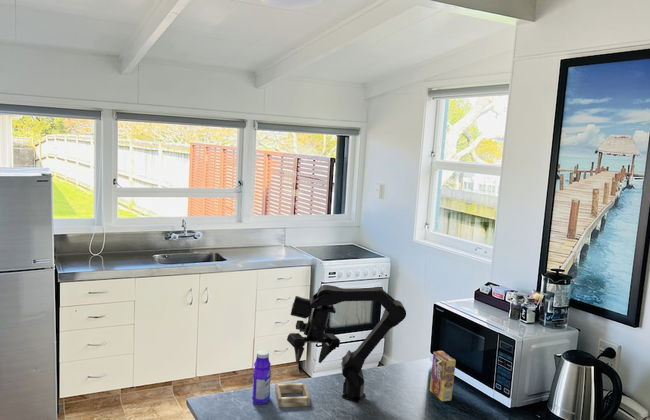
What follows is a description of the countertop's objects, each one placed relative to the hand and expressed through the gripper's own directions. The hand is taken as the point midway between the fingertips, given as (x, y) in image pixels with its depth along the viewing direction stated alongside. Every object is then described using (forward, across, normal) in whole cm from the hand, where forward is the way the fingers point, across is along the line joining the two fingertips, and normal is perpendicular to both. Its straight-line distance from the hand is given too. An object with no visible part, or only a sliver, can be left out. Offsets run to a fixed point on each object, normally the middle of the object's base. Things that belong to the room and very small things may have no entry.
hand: (308, 362), depth 194 cm
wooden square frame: (+12, +4, +2) cm, 13 cm away
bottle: (+15, +14, -2) cm, 21 cm away
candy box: (+3, -46, +21) cm, 50 cm away
